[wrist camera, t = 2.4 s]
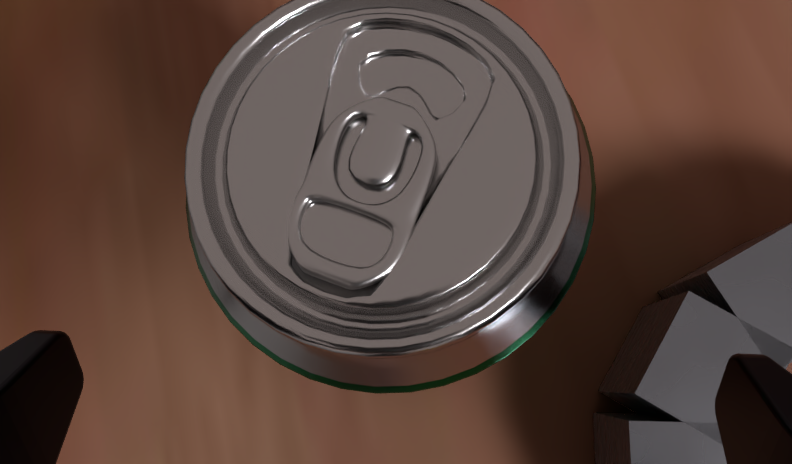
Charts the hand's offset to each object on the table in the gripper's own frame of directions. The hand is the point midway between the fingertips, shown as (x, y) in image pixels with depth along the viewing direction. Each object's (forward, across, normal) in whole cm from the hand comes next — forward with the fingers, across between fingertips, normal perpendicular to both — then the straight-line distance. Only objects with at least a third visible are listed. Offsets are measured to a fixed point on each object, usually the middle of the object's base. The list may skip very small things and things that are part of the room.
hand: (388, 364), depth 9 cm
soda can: (+8, 0, +5) cm, 10 cm away
